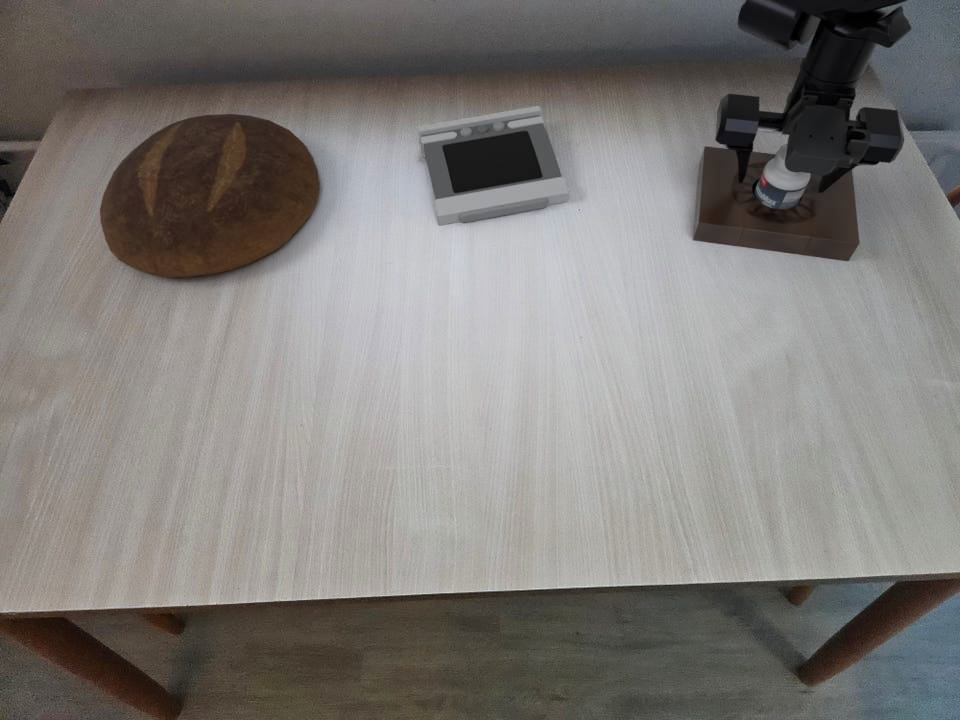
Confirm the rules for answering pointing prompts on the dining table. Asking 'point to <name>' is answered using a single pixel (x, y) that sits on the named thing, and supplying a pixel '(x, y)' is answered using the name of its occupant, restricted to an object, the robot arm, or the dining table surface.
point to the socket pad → (772, 210)
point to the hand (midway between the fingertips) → (779, 185)
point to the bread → (208, 195)
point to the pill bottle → (780, 183)
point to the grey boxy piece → (491, 166)
